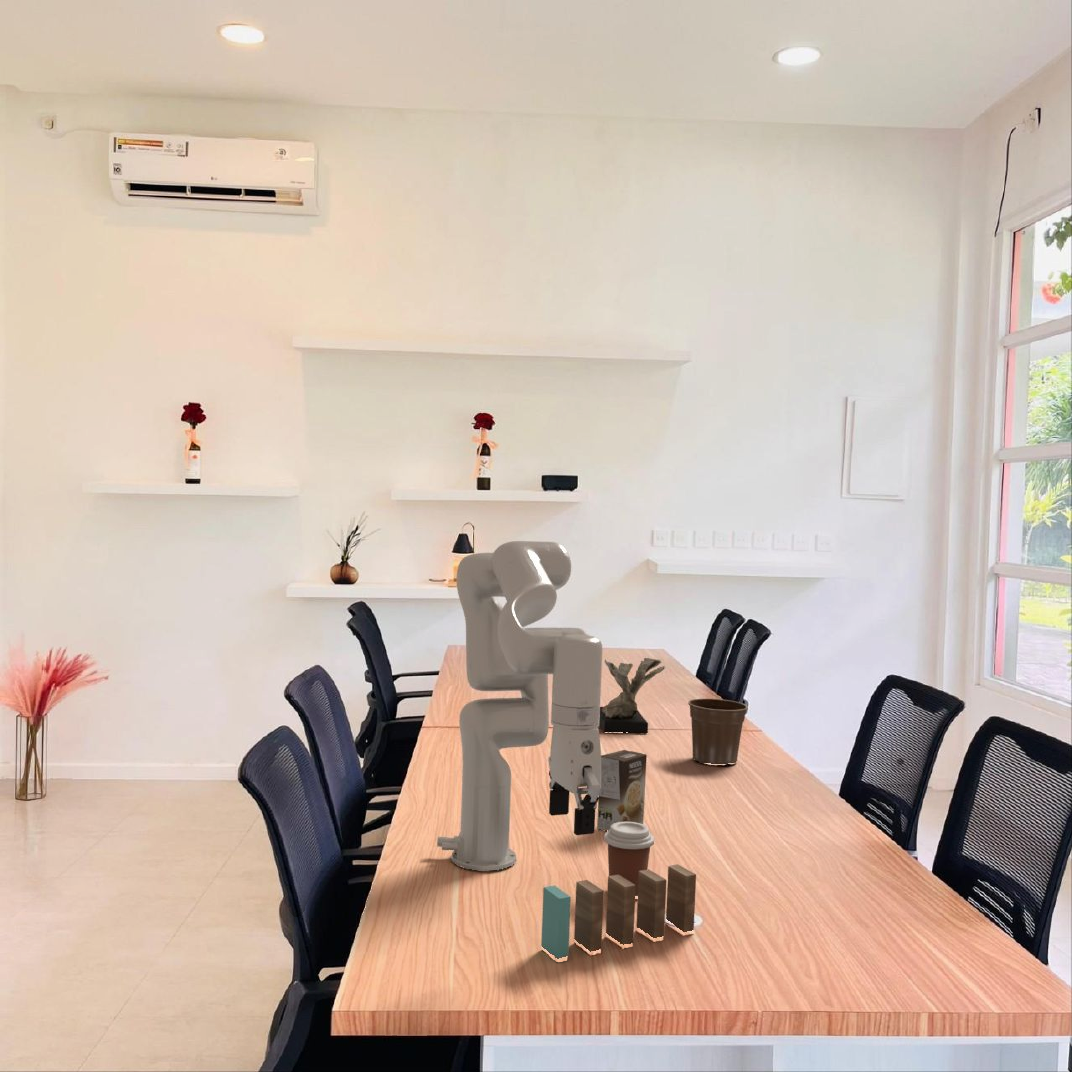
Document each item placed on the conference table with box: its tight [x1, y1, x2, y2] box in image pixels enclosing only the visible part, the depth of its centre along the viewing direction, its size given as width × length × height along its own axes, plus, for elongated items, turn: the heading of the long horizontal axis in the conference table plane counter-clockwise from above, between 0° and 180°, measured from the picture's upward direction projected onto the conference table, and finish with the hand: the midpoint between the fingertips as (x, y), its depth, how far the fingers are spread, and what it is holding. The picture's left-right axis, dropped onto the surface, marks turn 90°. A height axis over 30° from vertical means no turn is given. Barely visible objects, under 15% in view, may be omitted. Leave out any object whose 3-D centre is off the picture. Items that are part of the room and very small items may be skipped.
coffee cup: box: [603, 822, 655, 896], centre depth 185 cm, size 9×9×12 cm
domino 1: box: [573, 879, 605, 952], centre depth 162 cm, size 2×5×10 cm, turn 29°
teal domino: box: [540, 885, 572, 959], centre depth 159 cm, size 2×5×10 cm, turn 29°
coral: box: [599, 657, 666, 734], centre depth 326 cm, size 25×20×22 cm
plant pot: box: [687, 698, 749, 764], centre depth 283 cm, size 16×16×16 cm
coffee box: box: [596, 749, 648, 831], centre depth 222 cm, size 9×6×16 cm
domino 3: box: [635, 869, 668, 938], centre depth 167 cm, size 2×5×10 cm, turn 29°
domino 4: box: [665, 864, 697, 932], centre depth 170 cm, size 2×5×10 cm, turn 29°
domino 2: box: [605, 875, 636, 945], centre depth 164 cm, size 2×5×10 cm, turn 29°
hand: (571, 823), depth 159 cm, fingers open, 9 cm apart
